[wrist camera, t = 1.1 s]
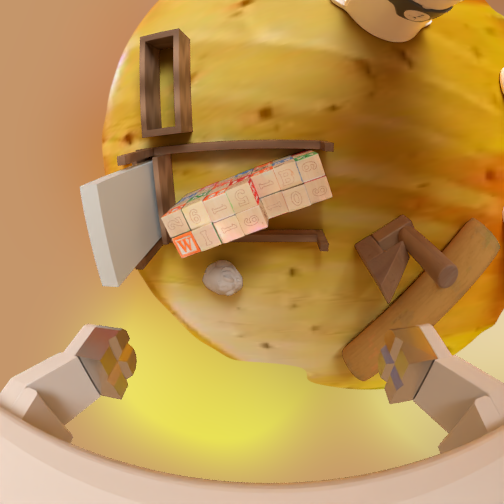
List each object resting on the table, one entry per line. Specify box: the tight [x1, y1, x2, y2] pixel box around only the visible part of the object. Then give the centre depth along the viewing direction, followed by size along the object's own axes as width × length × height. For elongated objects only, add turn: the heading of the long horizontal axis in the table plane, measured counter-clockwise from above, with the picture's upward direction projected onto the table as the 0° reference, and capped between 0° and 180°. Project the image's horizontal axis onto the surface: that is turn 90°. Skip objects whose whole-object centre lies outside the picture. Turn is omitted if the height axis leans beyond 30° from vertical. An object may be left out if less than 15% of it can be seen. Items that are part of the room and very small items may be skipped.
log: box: [342, 218, 500, 381], centre depth 46 cm, size 38×10×10 cm, turn 144°
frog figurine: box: [202, 260, 243, 296], centre depth 47 cm, size 6×7×7 cm
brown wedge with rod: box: [355, 215, 458, 304], centre depth 38 cm, size 4×11×18 cm, turn 126°
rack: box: [117, 140, 334, 269], centre depth 39 cm, size 16×30×12 cm, turn 92°
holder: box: [140, 29, 193, 138], centre depth 35 cm, size 16×6×6 cm, turn 2°
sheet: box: [80, 160, 162, 287], centre depth 36 cm, size 12×2×20 cm, turn 2°
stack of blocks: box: [161, 149, 333, 258], centre depth 39 cm, size 21×6×12 cm, turn 112°
